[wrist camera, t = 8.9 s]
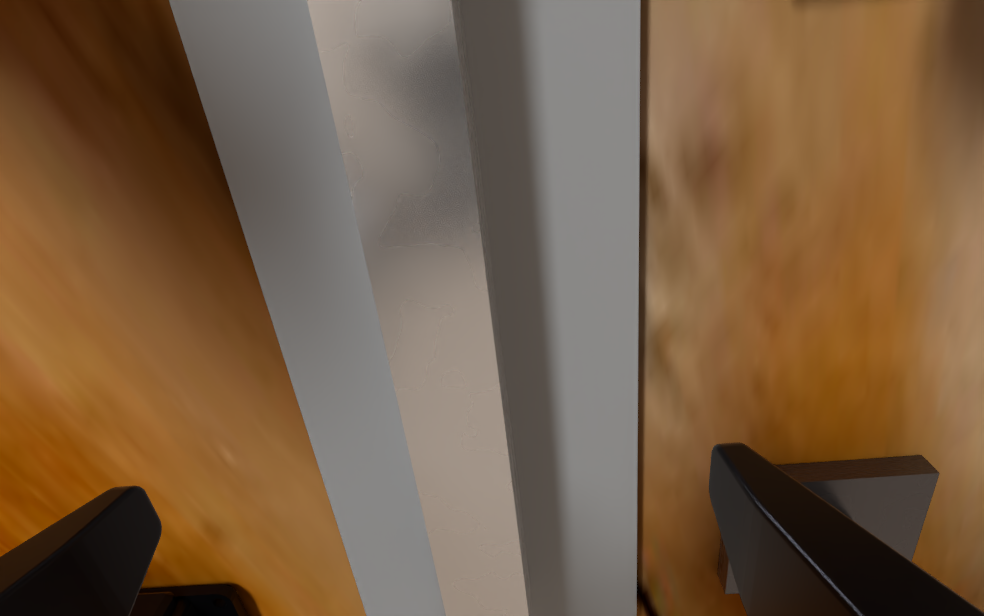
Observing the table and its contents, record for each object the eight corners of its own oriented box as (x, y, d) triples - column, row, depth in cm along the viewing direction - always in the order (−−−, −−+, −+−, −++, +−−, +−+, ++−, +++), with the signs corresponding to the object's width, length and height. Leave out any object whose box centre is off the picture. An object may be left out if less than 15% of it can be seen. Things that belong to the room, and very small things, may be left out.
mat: (633, 614, 21) (636, 626, 21) (377, 628, 22) (374, 640, 21) (637, -515, 9) (643, -543, 9) (53, -407, 10) (31, -427, 9)
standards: (889, 564, 20) (1078, 824, 13) (717, 573, 20) (818, 830, 14) (1182, -430, 9) (2778, -1523, 3) (811, -370, 10) (1444, -1201, 3)
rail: (530, 587, 20) (534, 657, 18) (461, 591, 20) (456, 661, 18) (426, -283, 10) (403, -375, 8) (290, -261, 10) (229, -345, 8)
